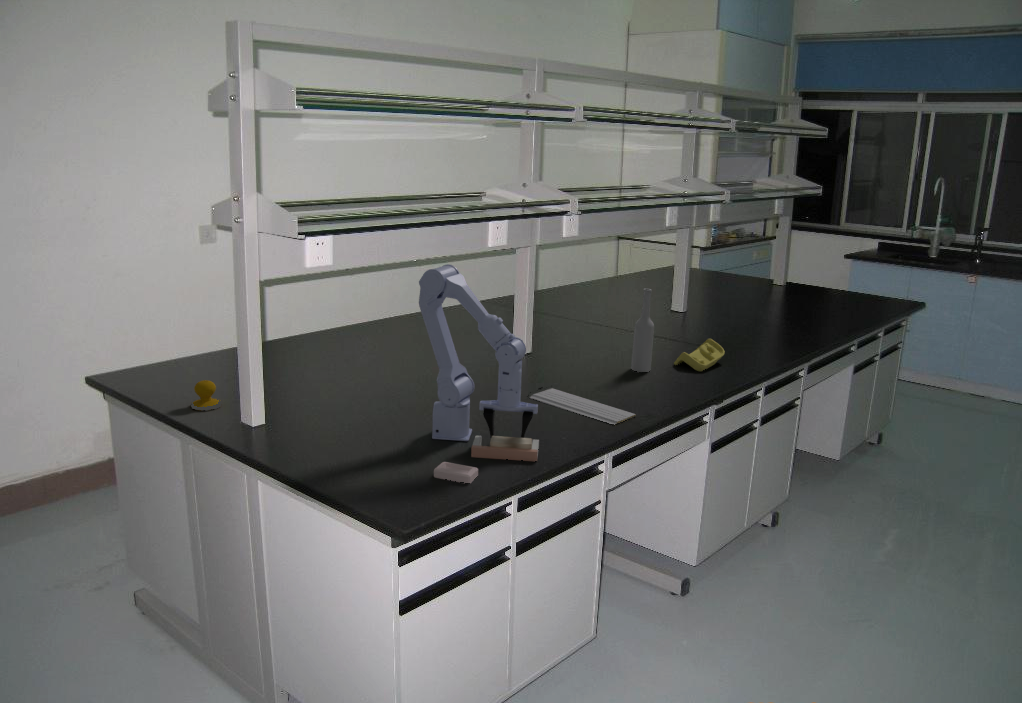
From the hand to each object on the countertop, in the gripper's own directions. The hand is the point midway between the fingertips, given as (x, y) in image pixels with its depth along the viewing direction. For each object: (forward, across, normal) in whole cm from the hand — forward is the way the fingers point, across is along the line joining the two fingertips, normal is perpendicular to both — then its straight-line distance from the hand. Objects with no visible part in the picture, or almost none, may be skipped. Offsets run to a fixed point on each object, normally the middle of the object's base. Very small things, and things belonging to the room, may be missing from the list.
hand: (507, 438), depth 202 cm
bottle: (+2, -38, -76) cm, 85 cm away
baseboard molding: (+3, -18, -32) cm, 37 cm away
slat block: (+2, -2, +6) cm, 6 cm away
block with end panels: (+2, 0, +4) cm, 5 cm away
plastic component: (+2, -60, -88) cm, 107 cm away
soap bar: (+3, +10, +21) cm, 23 cm away
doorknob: (+2, +85, -13) cm, 86 cm away
